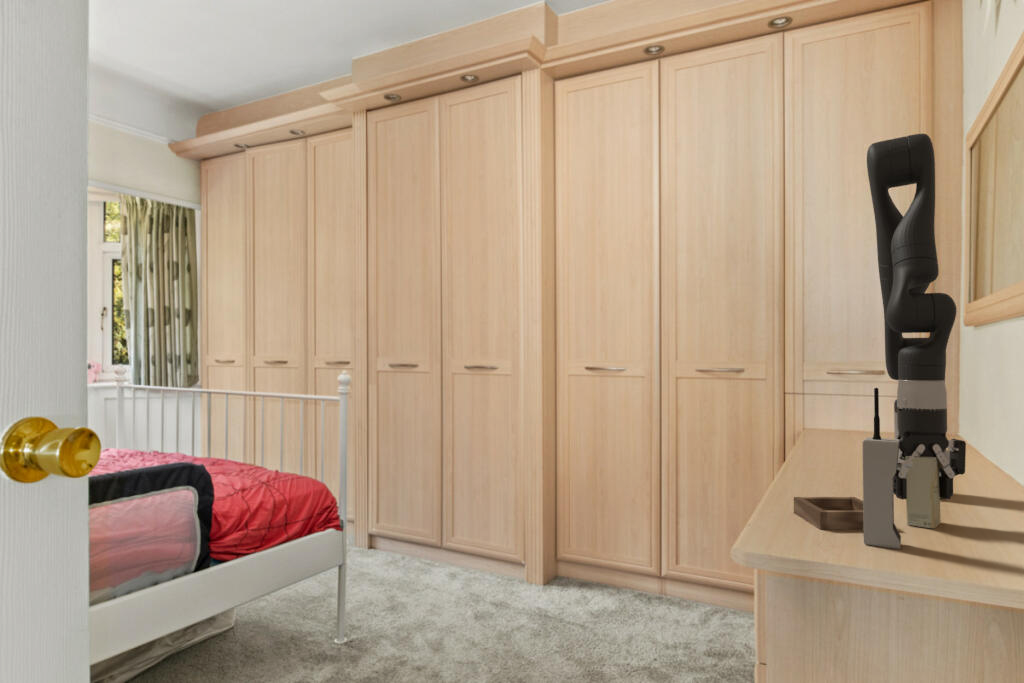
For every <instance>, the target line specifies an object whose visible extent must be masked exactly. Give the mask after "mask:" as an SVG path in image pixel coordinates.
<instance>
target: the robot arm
mask: <svg viewBox="0 0 1024 683" xmlns="http://www.w3.org/2000/svg"><path fill="white" fill-rule="evenodd" d="M866 168H867V175H868V176H867V177H868V182H869V190H870V194H871V195H870V196H871V202H872V208H873V214H874V219H875V220H874V221H875V234H876V235H875V236H876V251H877V252H876V253H877V264H878V275H879V276H878V277H879V283H880V290H881V299H882V307H883V317H884V318H883V320H884V321H883V322H884V324H883V325H884V353H885V354H884V356H885V367H886V372H887V375H888V376H889V378H890V379H892V380H894V381H898V382H897V391H896V399H895V400H894V403H893V410H894V412H893V416H894V417H893V418H894V422H893V423H894V439H900V443H899V453H898V464H897V470H896V473H895V475H894V477H893V491H894V495H895V496H896V498H897V499H899V500H906V499H907V479H906V474H907V473H908V468H912V467H913V461H912V460H913V457H936V458H937V461H938V467H939V483H940V499H944V500H950V499H951V498H952V497H953V494H954V477H956V476H959V475H962V476H963V475H965V473H966V456H967V455H966V452H967V449H966V448H967V443H966V441H965V440H963V439H958V438H951V439H948V438H947V436H946V435H947V432H948V393H947V392H948V391H947V388H946V367H947V347H948V342H949V339H950V336H951V333H952V330H953V327H954V324H955V321H956V317H957V304H956V302H955V301H954V299H953V298H952V297H951V296H950V295H949V294H947V293H943V292H929V293H926V291H927V290H928V288H929V286H930V285H931V283H933V282H934V281H936V280H937V278H938V277H939V262H938V254H937V245H936V234H935V216H936V215H935V214H936V162H935V151H934V145H933V142H932V139H931V137H930V136H929V135H928V134H926V133H915V134H910V135H907V136H906V135H905V136H901V137H897V138H896V137H895V138H891V139H886V140H881V141H876V142H874V143H871V144H870V145H869V147H868V149H867V152H866ZM910 185H916V187H915V192H914V197H913V200H912V201H911V203H910V205H909V207H908V209H906V210H907V211H906V212H905V213H904V215H903V214H902V213H901V212H900V210H899V209H898V207H897V205H895V203H894V201H893V199H892V198H891V195H890V192H889V189H891V188H892V189H893V188H898V187H903V186H904V187H905V186H910ZM912 333H913V334H915V333H919V334H920V333H922V334H923V333H924V334H925V333H927V334H929V335H928V337H904V336H903V334H912ZM905 456H909V458H908V459H907V460H905Z"/></svg>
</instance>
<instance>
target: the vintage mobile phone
mask: <svg viewBox="0 0 1024 683" xmlns="http://www.w3.org/2000/svg"><path fill="white" fill-rule="evenodd" d="M879 393H880V392H879V388H878V387H874V390H873V398H874V400H873V401H874V408H873V409H874V413H873V414H874V416H873V436H872V437H867V436H866V437H865V438H864V439H863V441H862V444H861V445H862V499H863V500H862V501H863V520H864V530H863V543H864V545H866V546H873V547H877V548H878V547H881V548H887V549H893V550H899V549H901V544H902V536H901V534H900V532H899V530H898V529H897V526H896V525H895V512H894V511H895V507H894V506H895V504H894V503H895V501H894V499H895V498H894V495H895V494H894V491H893V477H894V475H895V473H896V470H897V464H898V453H899V443H900V439H895V438H884V437H883V438H882V436H881V419H880V414H879V413H880V407H879V406H880V405H879V403H880V402H879V397H880V396H879Z"/></svg>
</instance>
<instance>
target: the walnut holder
mask: <svg viewBox="0 0 1024 683" xmlns="http://www.w3.org/2000/svg"><path fill="white" fill-rule="evenodd" d="M793 514H795V515H796V514H797V517H799V518H802V520H804V521H806V522H808V523H809V524H811V525H812V524H813V525H812V526H814V527H816V528H818V529H819V531H821V530H824V531H825V530H832V531H833V530H834V531H835V530H839V531H840V530H842V531H843V530H848V531H850V530H852V531H853V530H855V531H856V530H858V531H859V530H862V531H864V520H863V500H862V499H860V498H858V497H855V496H793Z"/></svg>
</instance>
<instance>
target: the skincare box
mask: <svg viewBox="0 0 1024 683" xmlns="http://www.w3.org/2000/svg"><path fill="white" fill-rule="evenodd" d="M908 458H909V456H905V460H907V459H908ZM912 461H913V467H912V468H908V473H907V474H906V479H907V499H905V501H906V503H905V504H906V525H908V526H912V527H913V526H914V527H918V528H925V529H936V528H937V527H938V526H939V525H940V524H941V498H940V483H939V467H938V461H937V458H936V457H913V460H912Z"/></svg>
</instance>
